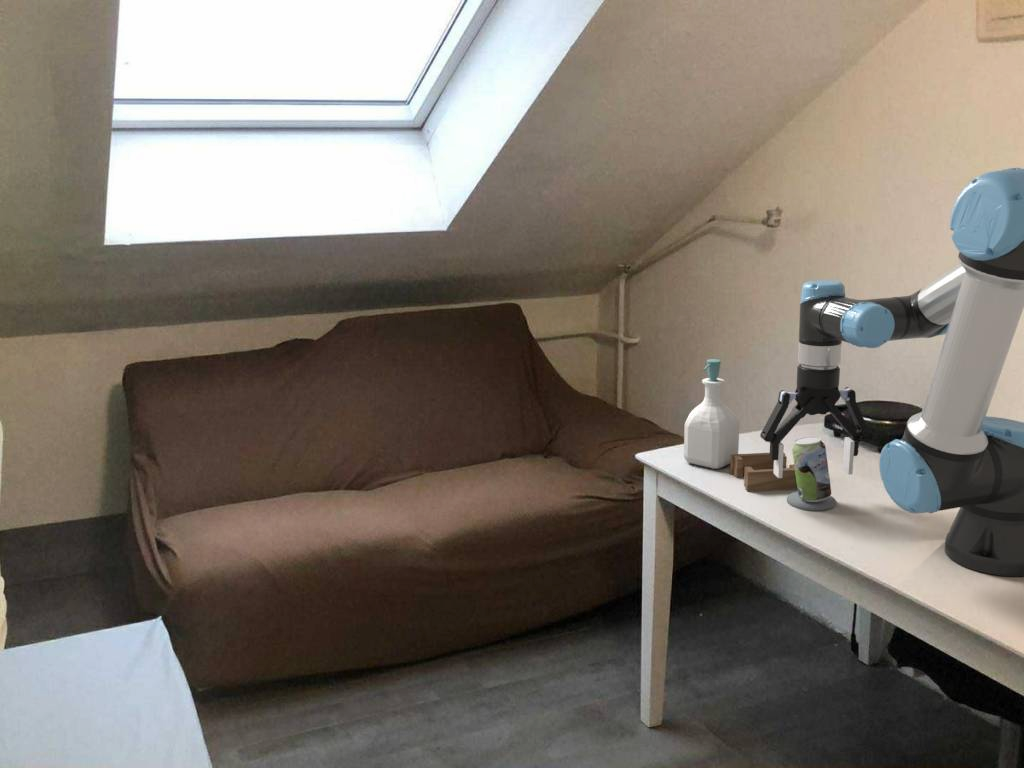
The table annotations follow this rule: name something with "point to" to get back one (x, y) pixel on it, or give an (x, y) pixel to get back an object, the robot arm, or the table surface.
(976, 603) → the table surface
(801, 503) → the coaster
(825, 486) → the beverage can
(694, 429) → the soap bottle
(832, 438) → the table surface
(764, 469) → the caddy
